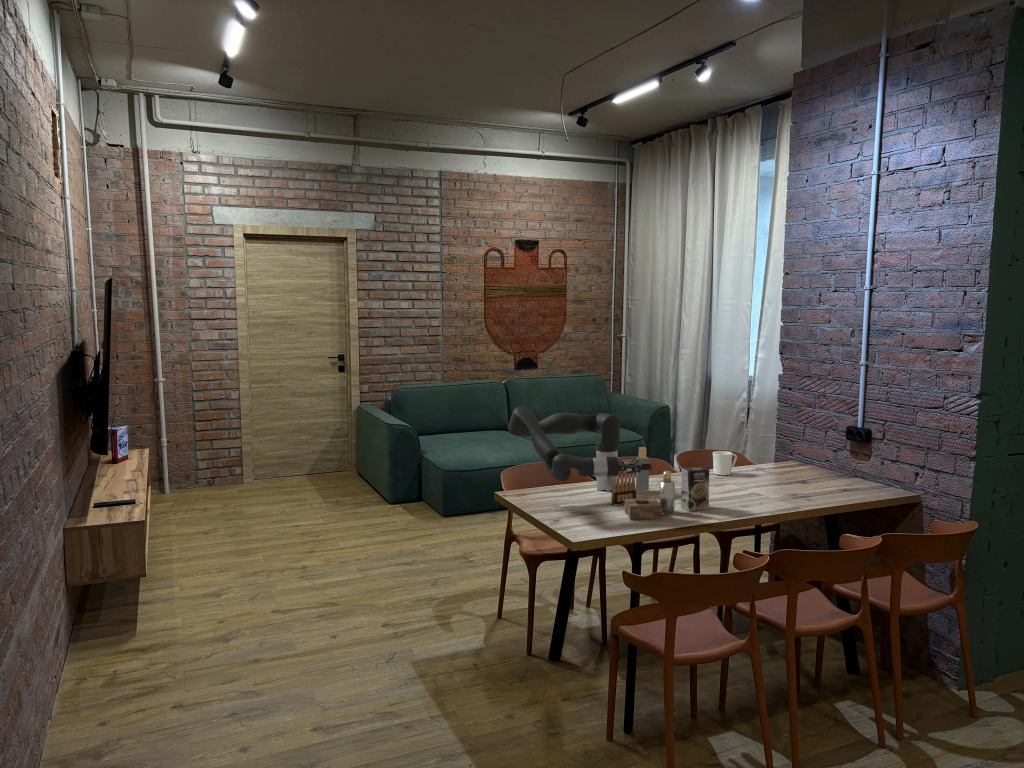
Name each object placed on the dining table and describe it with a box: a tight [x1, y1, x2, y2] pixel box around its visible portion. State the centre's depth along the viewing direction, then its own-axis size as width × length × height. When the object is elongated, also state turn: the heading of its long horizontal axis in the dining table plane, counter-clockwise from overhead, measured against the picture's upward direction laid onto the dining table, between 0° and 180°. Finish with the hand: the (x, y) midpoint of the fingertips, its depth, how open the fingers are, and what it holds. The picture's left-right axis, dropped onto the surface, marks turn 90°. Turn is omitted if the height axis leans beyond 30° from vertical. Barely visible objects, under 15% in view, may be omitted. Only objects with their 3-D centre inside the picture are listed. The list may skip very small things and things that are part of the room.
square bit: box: [635, 446, 650, 491], centre depth 273 cm, size 4×4×16 cm
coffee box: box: [680, 466, 710, 512], centre depth 282 cm, size 9×6×16 cm
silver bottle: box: [659, 470, 676, 515], centre depth 278 cm, size 6×6×16 cm
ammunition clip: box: [611, 473, 637, 505], centre depth 292 cm, size 11×2×12 cm, turn 111°
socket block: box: [624, 497, 663, 521], centre depth 275 cm, size 12×12×5 cm
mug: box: [712, 450, 738, 477], centre depth 339 cm, size 11×9×10 cm
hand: (649, 465), depth 273 cm, fingers closed on square bit, 4 cm apart
